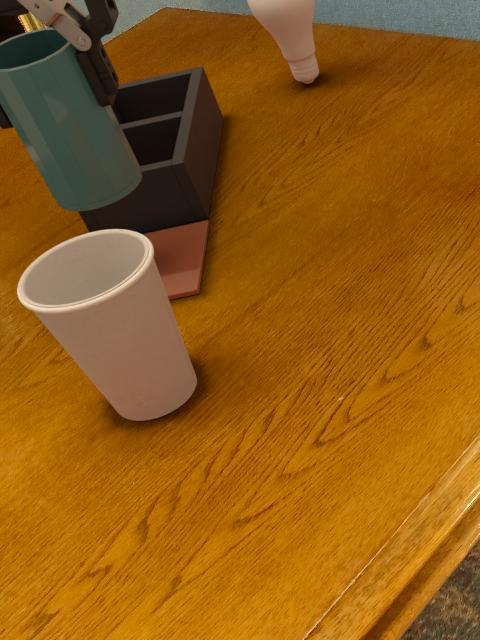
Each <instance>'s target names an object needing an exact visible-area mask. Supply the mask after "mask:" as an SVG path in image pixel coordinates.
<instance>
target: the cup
mask: <svg viewBox="0 0 480 640" xmlns="http://www.w3.org/2000/svg"><path fill="white" fill-rule="evenodd" d="M77 51H78V49H77V48H75V47H74V46H73V45H72V44H71V43H70V42H68V41H67V40H66V39H65V38H64V37H63V36H62V35H61V34H59V33H58V32H57V31H56V30H55V29H54V28H52V27H43V28H38V29H34V30H30V31H26V32H23V33H20V34H18V35H14V36H12V37H9V38H7V39H6V40H3V41H1V42H0V104H1V106H2V107H3V109H4V111H5V113H6V114H7V116H8V118H9V120H10V121H11V123H12V125H13V127H12V128H13V129H14V130H15V132H16V134H17V135H18V137H19V140H21V142H22V144H23V146H24V148H25V150H26V152H27V153H28V155H29V157H30V159H31V160H32V162H33V163H34V166H35V167H36V169H37V171H38V172H39V174H40V176H41V177H42V180H43V181H44V183H45V185H46V187H47V188H48V190H49V192H50V193H51V195H52V197H53V199H54V200H55V202H56V204H57V206H59V208H61V209H63V210H65V211H68V212H78V211H88V210H93V209H97V208H101V207H104V206H107V205H109V204H112V203H114V202H116V201H118V200H120V199H122V198H124V197H125V196H127V195H128V194H130V193H131V192H132V191H133V190H134V189H135V188H136V187H137V186H138V185H139V184H140V182H141V180H142V176H143V174H142V171H141V169H140V165H139V163H138V161H137V159H136V157H135V155H134V153H133V151H132V149H131V147H130V145H129V143H128V141H127V139H126V137H125V135H124V132H123V130H122V128H121V126H120V124H119V122H118V120H117V118H116V116H115V114H114V112H113V110H112V108H111V106H110V105H109V106H105V107H102V106H101V105H100V103H99V101H98V99H97V97H96V95H95V93H94V91H93V89H92V87H91V85H90V83H89V81H88V79H87V77H86V75H85V73H84V71H83V69H82V67H81V65H80V63H79V61H78V59H77V57H76V55H75V54H76V52H77Z"/></svg>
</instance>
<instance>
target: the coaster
mask: <svg viewBox="0 0 480 640" xmlns="http://www.w3.org/2000/svg"><path fill="white" fill-rule="evenodd" d="M210 225H211V224H210V221H209V220H208V219H205V220H201V221H196V222H191V223H187V224H182V225H177V226H173V227H168V228H164V229H159V230H154V231H150V232H145V233H141V234H142V235H144V236H145V237H147V238H148V239H149V240H150V242H151V243H152V245H153V248H154V260H155V263H156V266H157V268H158V271H159V274H160V277H161V280H162V282H163V285H164V288H165V291H166V293H167V296H168V299H169V301H171V300H172V301H173V300H176V299H182V298H185V297H191V296H194V295H195V296H196V295H199V294H200V290H201V283H202V277H203V270H204V263H205V257H206V251H207V243H208V238H209V232H210Z"/></svg>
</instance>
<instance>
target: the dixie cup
mask: <svg viewBox="0 0 480 640" xmlns="http://www.w3.org/2000/svg"><path fill="white" fill-rule="evenodd" d="M142 234H143V233H138V232H134V231H130V230H125V229H107V230H100V231H95V232H87V233H83V234H79V235H77V236H74V237H72V238H69V239H67V240H64V241H62V242H61V243H58V244H57V245H55V246H53V247H51V248H50V249H48V250H47V251H45V252H43V253H42V254H41V255H39V256H38V257H37V258H36V259H34V261H32V262H31V263H30V264H29V266H27V268H25V270H24V271H23V273H22V274H21V276H20V279H19V281H18V284H17V287H16V294H17V298H18V301H19V302H20V303H21V304H22V306H23V307H25V308H26V309H27V310H30V311H31V312H33V313H34V315H35V316H36V317H37V318H38V320H39V321H40V322H41V323H42V324H43V325H44V326H45V328H46V329H47V330H48V331H49V332H50V334H51V335H52V336H53V337H54V338H55V340H56V341H57V342H58V343H59V344H60V346H61V347H62V348H63V349H64V350H65V352H66V353H67V354H68V355H69V357H70V358H71V359H72V360H73V362H75V364H76V365H77V366H78V367H79V368H80V369H81V371H82V372H83V373H84V374H85V375H86V377H87V378H88V379H89V380H90V381H91V382H92V384H93V385H94V386H95V387H96V389H97V390H98V391H99V392H100V393H101V395H102V396H103V397H104V398H105V399H106V400H107V402H108V403H109V404H110V405H111V406H112V407H113V409H114V410H115V411H116V413H118V415H120V417H122V418H124V419H126V420H130V421H134V422H135V421H136V422H144V421H150V420H154V419H158V418H161V417H164V416H166V415H168V414H170V413H173V412H174V411H175V410H177V409H179V408H180V407H181V406H183V405H184V404H185V403H186V402H187V401H188V400H189V399H190V398H191V397H192V395H193V394H194V392H195V390H196V388H197V385H198V378H197V375H196V372H195V369H194V366H193V364H192V361H191V358H190V355H189V352H188V350H187V347H186V344H185V342H184V338H183V335H182V333H181V331H180V327H179V324H178V322H177V319H176V317H175V316H176V315H175V314H174V313H175V312H174V311H173V308H172V304H171V302H170V300H169V299H168V296H167V293H166V291H165V288H164V285H163V282H162V280H161V277H160V274H159V271H158V268H157V266H156V263H155V260H154V248H153V245H152V243H151V242H150V240H149V239H148V238H147V237H145V236H144V235H142Z"/></svg>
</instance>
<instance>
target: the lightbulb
mask: <svg viewBox="0 0 480 640" xmlns="http://www.w3.org/2000/svg"><path fill="white" fill-rule="evenodd" d="M246 2H247V5H248V8H249V10H250V12H251V13H252V15H253V16H254V18H255V19H256V20H257V22H258V23H259V24H260V25H261V26H262V27H263V28H264V29H265V30H266V31H267V32H268V33H269V34H270V36H271V37H272V38H273V39H274V41H275V42H276V44H277V45H278V48H279V49H280V52H281V54H282V56H283V58H284V59H285V60H286V61H287V63H288V66H289V69H290V71H291V75H292V76H293V78H294V80H296V81H297V82H300V83H304V84H305V85H309V84H312V83H313V82H315V79H316V78H317V77H319V74H320V69H319V63H318V60H317V57H316V53H315V52H316V50H317V49H316V45H315V41H314V34H313V20H314V16H315V9H316V0H246Z"/></svg>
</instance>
